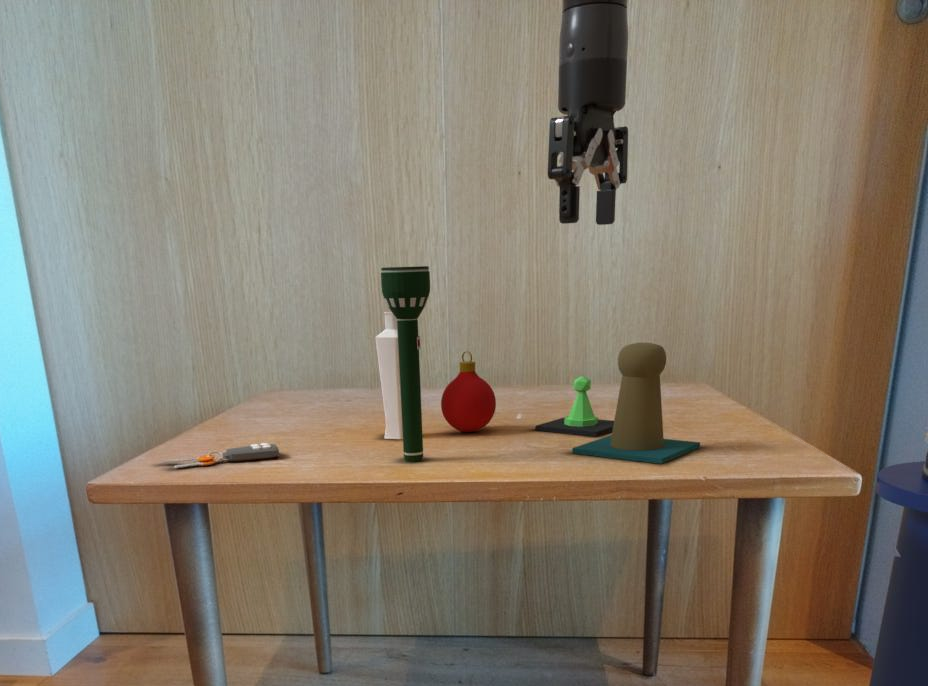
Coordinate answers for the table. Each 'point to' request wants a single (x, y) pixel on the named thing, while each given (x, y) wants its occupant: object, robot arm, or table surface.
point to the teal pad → (653, 456)
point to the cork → (639, 398)
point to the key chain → (235, 455)
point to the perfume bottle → (390, 376)
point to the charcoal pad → (577, 428)
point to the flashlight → (408, 346)
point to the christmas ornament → (468, 400)
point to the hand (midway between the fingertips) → (587, 223)
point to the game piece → (581, 406)
